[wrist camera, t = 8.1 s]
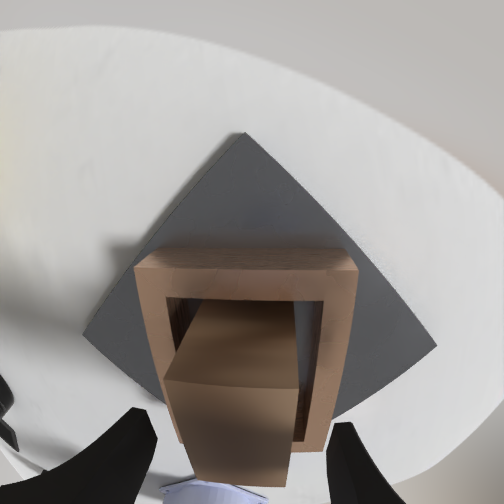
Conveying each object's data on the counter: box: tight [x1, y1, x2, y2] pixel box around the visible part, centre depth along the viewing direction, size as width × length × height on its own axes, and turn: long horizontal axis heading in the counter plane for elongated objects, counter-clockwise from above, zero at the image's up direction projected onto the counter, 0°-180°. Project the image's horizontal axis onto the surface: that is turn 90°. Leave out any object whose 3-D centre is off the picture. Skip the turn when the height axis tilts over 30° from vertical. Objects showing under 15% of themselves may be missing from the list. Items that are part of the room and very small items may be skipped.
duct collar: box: [82, 132, 437, 452], centre depth 14 cm, size 15×15×3 cm
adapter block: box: [163, 299, 299, 487], centre depth 12 cm, size 4×7×6 cm, turn 1°
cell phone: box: [0, 419, 19, 452], centre depth 28 cm, size 7×14×1 cm, turn 146°
